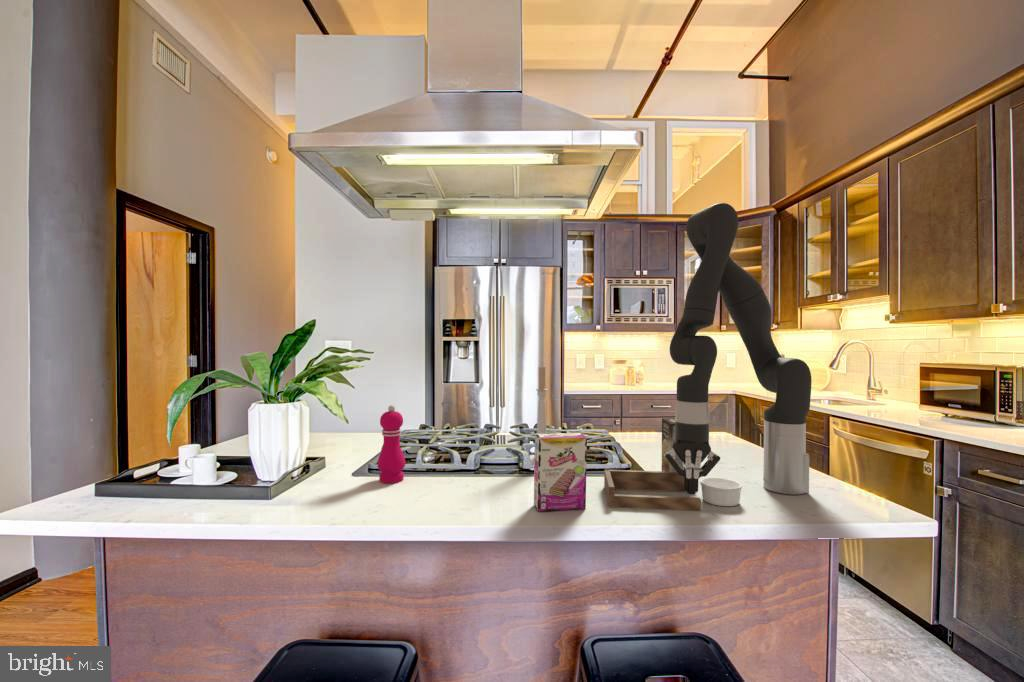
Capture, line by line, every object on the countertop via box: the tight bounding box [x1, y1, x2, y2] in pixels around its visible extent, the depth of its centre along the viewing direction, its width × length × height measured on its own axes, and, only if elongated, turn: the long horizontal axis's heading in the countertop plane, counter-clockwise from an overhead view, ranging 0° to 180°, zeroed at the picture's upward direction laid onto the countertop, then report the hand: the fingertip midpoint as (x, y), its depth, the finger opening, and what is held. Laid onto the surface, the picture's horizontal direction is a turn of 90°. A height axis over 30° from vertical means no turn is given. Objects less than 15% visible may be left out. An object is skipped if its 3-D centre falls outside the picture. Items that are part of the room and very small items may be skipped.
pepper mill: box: [377, 404, 406, 484], centre depth 128 cm, size 7×7×20 cm
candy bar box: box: [533, 432, 588, 512], centre depth 108 cm, size 11×5×16 cm, turn 100°
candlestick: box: [519, 366, 549, 468], centre depth 143 cm, size 13×13×30 cm
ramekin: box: [699, 477, 743, 507], centre depth 113 cm, size 9×9×4 cm
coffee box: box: [661, 417, 692, 477], centre depth 130 cm, size 9×6×16 cm
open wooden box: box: [603, 469, 702, 511], centre depth 115 cm, size 20×14×4 cm
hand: (691, 493), depth 114 cm, fingers closed
